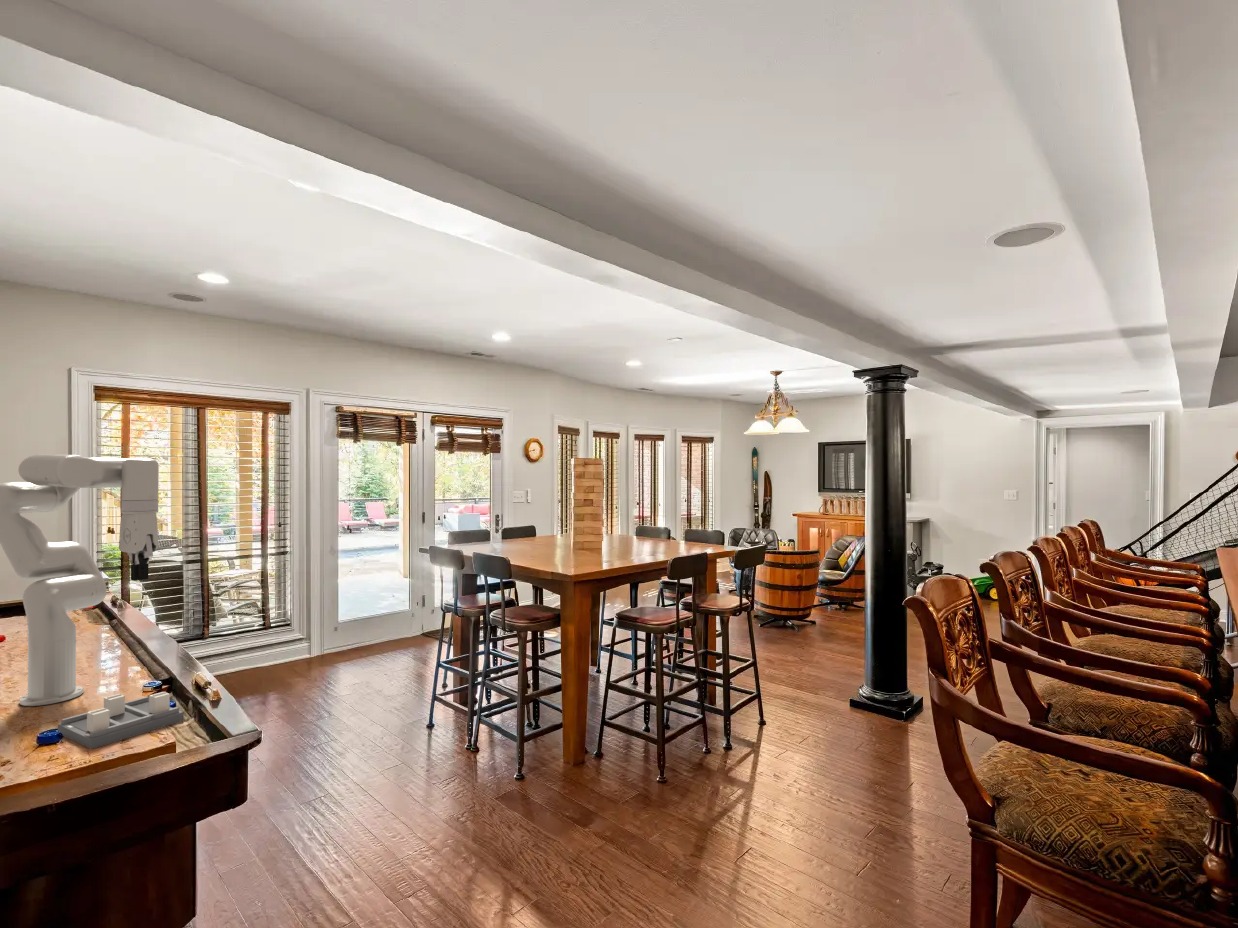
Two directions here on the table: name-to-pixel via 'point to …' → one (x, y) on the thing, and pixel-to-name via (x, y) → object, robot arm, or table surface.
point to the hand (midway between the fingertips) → (139, 579)
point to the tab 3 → (159, 702)
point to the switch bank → (119, 724)
